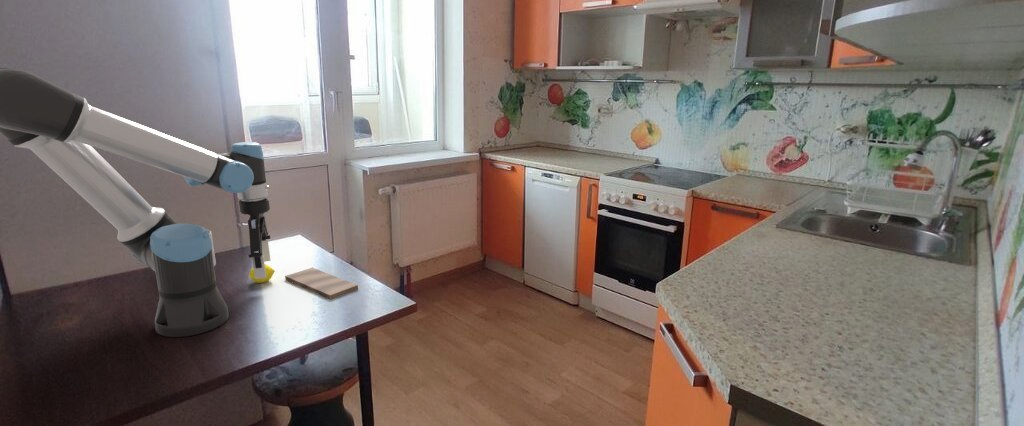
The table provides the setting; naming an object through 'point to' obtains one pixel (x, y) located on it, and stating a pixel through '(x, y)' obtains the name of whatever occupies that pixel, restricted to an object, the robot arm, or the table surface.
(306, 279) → the cutting board
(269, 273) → the lemon
